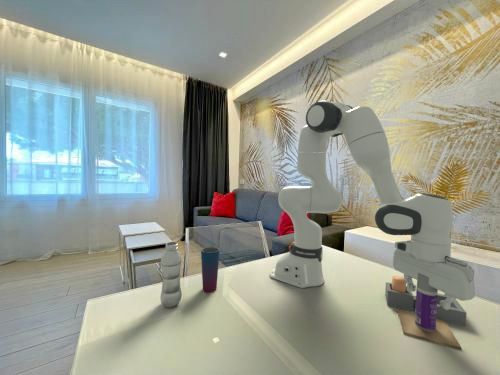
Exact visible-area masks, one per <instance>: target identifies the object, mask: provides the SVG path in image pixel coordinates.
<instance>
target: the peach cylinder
mask: <svg viewBox="0 0 500 375" xmlns="http://www.w3.org/2000/svg"><path fill="white" fill-rule="evenodd" d="M391 283H392V290H394V291H398V292H403V293H406V286H407V283H406V281H405V279H404V276H399V275H393V276H392V279H391Z"/></svg>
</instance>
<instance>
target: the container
mask: <svg viewBox="0 0 500 375" xmlns="http://www.w3.org/2000/svg"><path fill="white" fill-rule="evenodd" d="M438 291H439V290H438V289H435V288H433V287H431V286H430V285H429V277H427V276H424V275H422V274H420V273H418V278H417V280H416V291H415V296H416V309H414V311H415V312H414V313H415V324H416V326H417V327H419V328H421V329H423V330H425V331H429V332H434V331H435V330H436V314H437V296H438V294H439V292H438Z"/></svg>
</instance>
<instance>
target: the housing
mask: <svg viewBox="0 0 500 375" xmlns="http://www.w3.org/2000/svg"><path fill="white" fill-rule="evenodd" d="M384 290H385V291H384V296H385V301H386V305H387V306H391V307H393V308H397V309H403V310H405V311H406V310H408V311H409V312H410V311H411V312H413V309H414V310H415V309H416V295H414V294H413V292H412V291H410V290H408V289H407V285H406V293H403V292H398V291H394V290H392V282H387V281H386V282H385V289H384ZM444 295H445V294H443V293H438V296H437V314H436V319H440V320H444V321H446V323H447V322H448V323H451V324H456V325H460V326H464V327H466V324H467V311H466V310H465V309H464V308H463V306H462V305H461V304H460V303H459V302H458V299H457V298H456V299H455V300H454V301H453V302H452V303H451V307H450V309H449V310H445V309H444V308H442V307H440V306H439V305H440V300H445V299H446V298H447V297H445V296H444Z"/></svg>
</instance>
